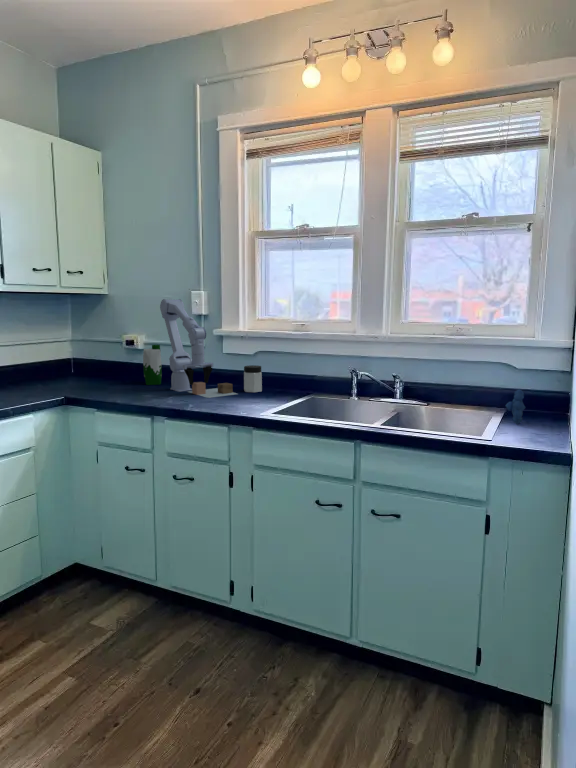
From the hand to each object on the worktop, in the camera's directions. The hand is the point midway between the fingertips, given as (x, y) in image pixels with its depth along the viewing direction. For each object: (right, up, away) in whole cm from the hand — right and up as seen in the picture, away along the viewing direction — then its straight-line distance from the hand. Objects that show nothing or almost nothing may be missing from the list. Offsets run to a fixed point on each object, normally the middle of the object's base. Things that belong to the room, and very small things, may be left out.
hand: (198, 383), depth 247 cm
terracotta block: (0, -5, +1) cm, 5 cm away
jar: (+24, -4, +8) cm, 26 cm away
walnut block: (+12, -4, +4) cm, 13 cm away
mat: (+6, -5, +3) cm, 8 cm away
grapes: (+122, -14, -55) cm, 134 cm away
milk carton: (-29, 0, +31) cm, 43 cm away
